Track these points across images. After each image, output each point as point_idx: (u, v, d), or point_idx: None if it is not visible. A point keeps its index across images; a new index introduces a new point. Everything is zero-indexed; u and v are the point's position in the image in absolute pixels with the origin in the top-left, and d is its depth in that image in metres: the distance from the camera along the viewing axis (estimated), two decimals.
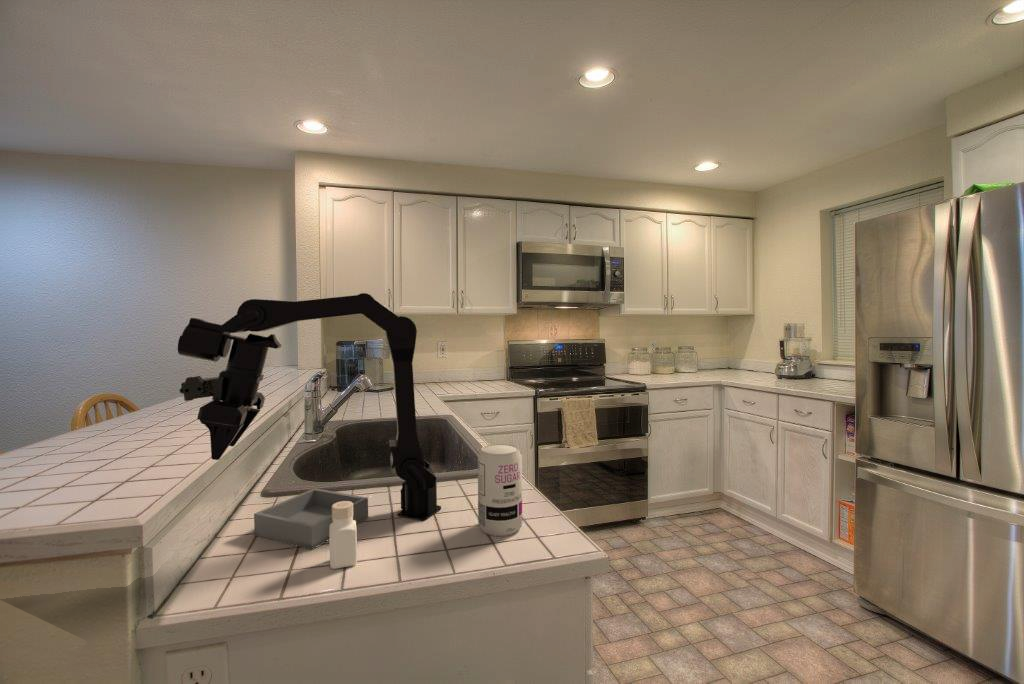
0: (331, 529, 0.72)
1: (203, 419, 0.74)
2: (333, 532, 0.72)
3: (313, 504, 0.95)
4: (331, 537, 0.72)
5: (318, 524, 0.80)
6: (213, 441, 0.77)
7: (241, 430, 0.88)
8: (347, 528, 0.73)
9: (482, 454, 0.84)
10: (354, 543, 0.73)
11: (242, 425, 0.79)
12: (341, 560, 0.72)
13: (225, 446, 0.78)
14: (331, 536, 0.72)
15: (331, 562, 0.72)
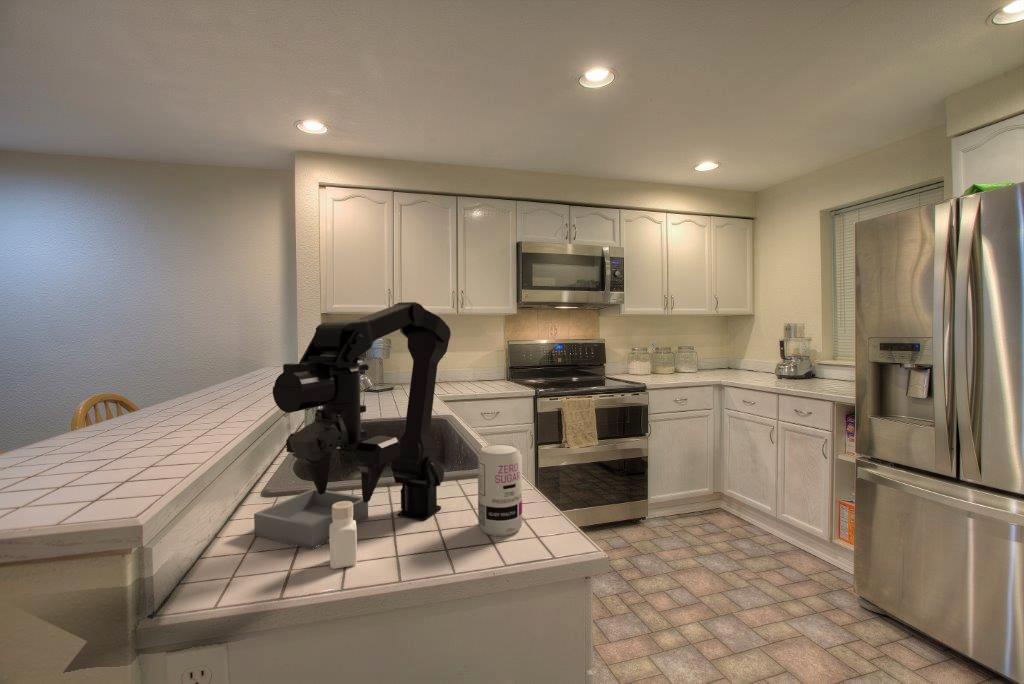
0: (331, 529, 0.72)
1: (381, 461, 0.68)
2: (333, 531, 0.72)
3: (313, 504, 0.95)
4: (331, 537, 0.72)
5: (318, 524, 0.80)
6: (369, 483, 0.71)
7: (326, 472, 0.77)
8: (348, 527, 0.73)
9: (482, 454, 0.84)
10: (354, 543, 0.73)
11: None
12: (341, 560, 0.72)
13: (376, 483, 0.73)
14: (331, 536, 0.72)
15: (331, 562, 0.72)
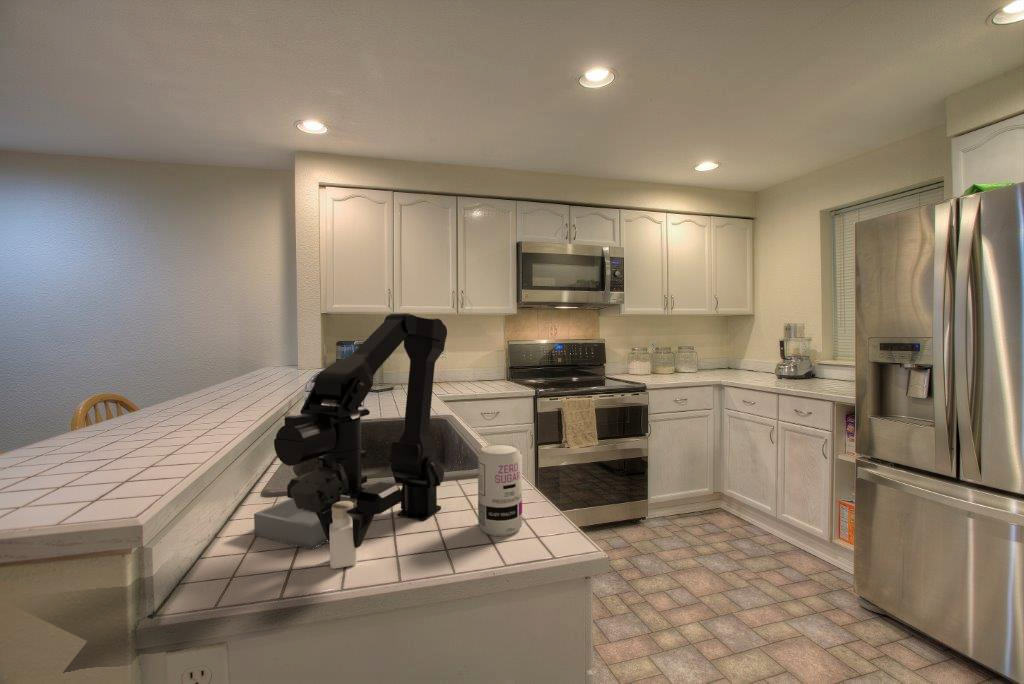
0: (331, 529, 0.72)
1: (382, 511, 0.69)
2: (333, 531, 0.72)
3: None
4: (331, 537, 0.72)
5: (318, 524, 0.80)
6: (360, 529, 0.72)
7: None
8: (348, 527, 0.73)
9: (482, 454, 0.84)
10: None
11: None
12: (341, 560, 0.72)
13: (367, 527, 0.74)
14: (331, 536, 0.72)
15: (331, 562, 0.72)
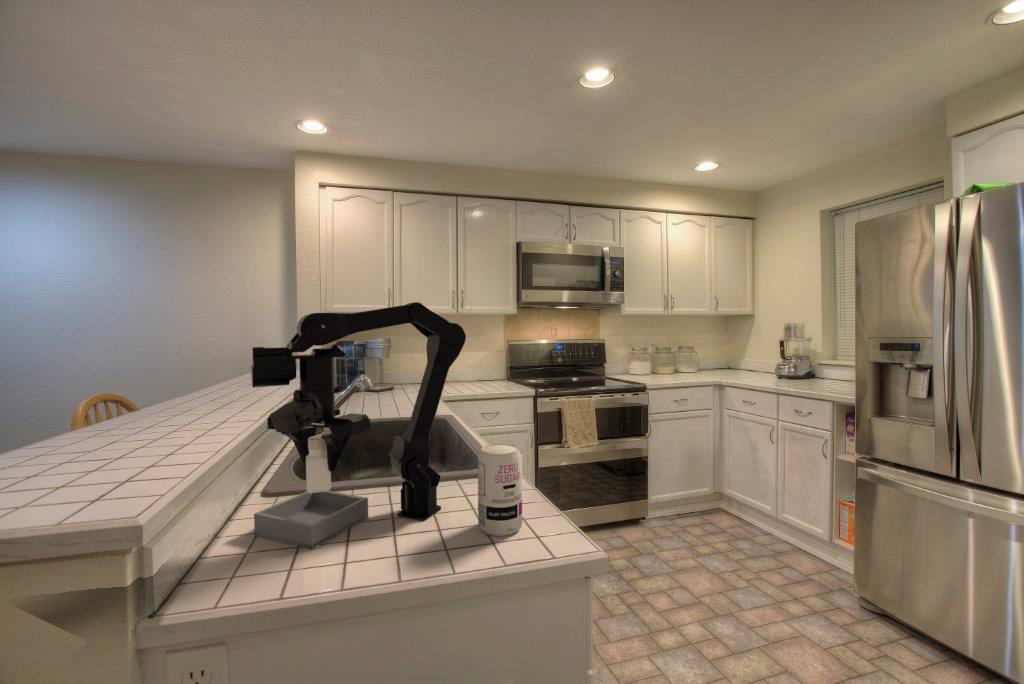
0: (307, 458, 0.81)
1: (352, 434, 0.78)
2: (309, 460, 0.81)
3: (313, 504, 0.95)
4: (307, 464, 0.81)
5: (318, 524, 0.80)
6: (333, 454, 0.81)
7: None
8: (322, 457, 0.82)
9: (482, 454, 0.84)
10: (328, 471, 0.82)
11: None
12: (316, 485, 0.81)
13: (340, 454, 0.83)
14: (307, 464, 0.81)
15: (307, 487, 0.81)
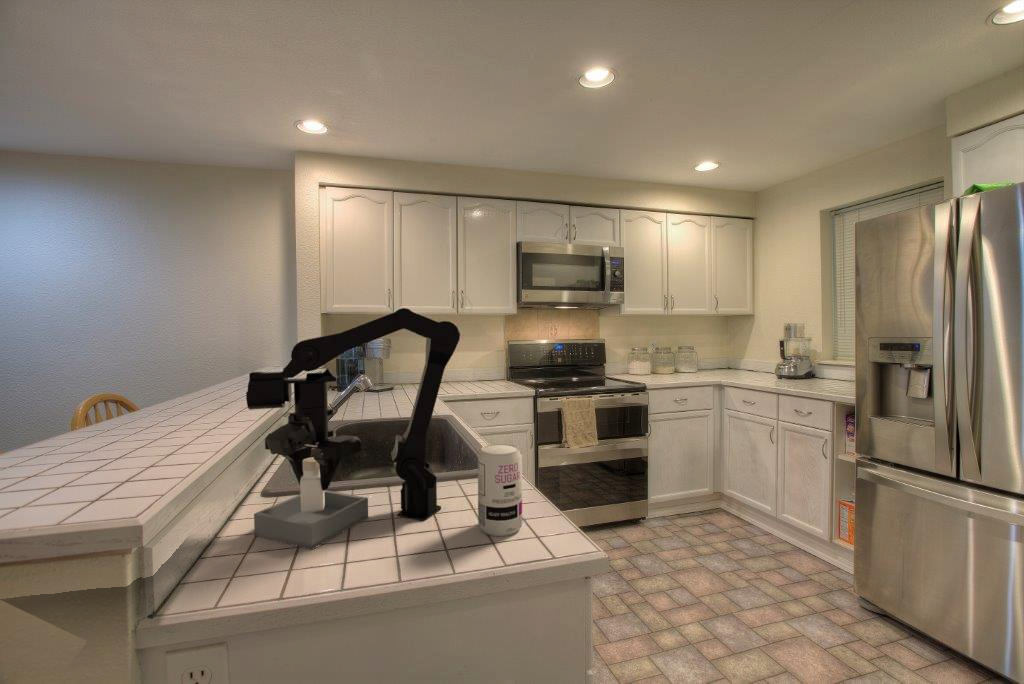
0: (301, 479, 0.85)
1: (343, 456, 0.82)
2: (303, 481, 0.85)
3: None
4: (301, 486, 0.85)
5: (318, 524, 0.80)
6: (326, 474, 0.85)
7: None
8: (316, 478, 0.86)
9: (482, 454, 0.84)
10: (321, 491, 0.86)
11: None
12: (310, 505, 0.85)
13: (333, 474, 0.87)
14: (301, 485, 0.85)
15: (301, 507, 0.85)
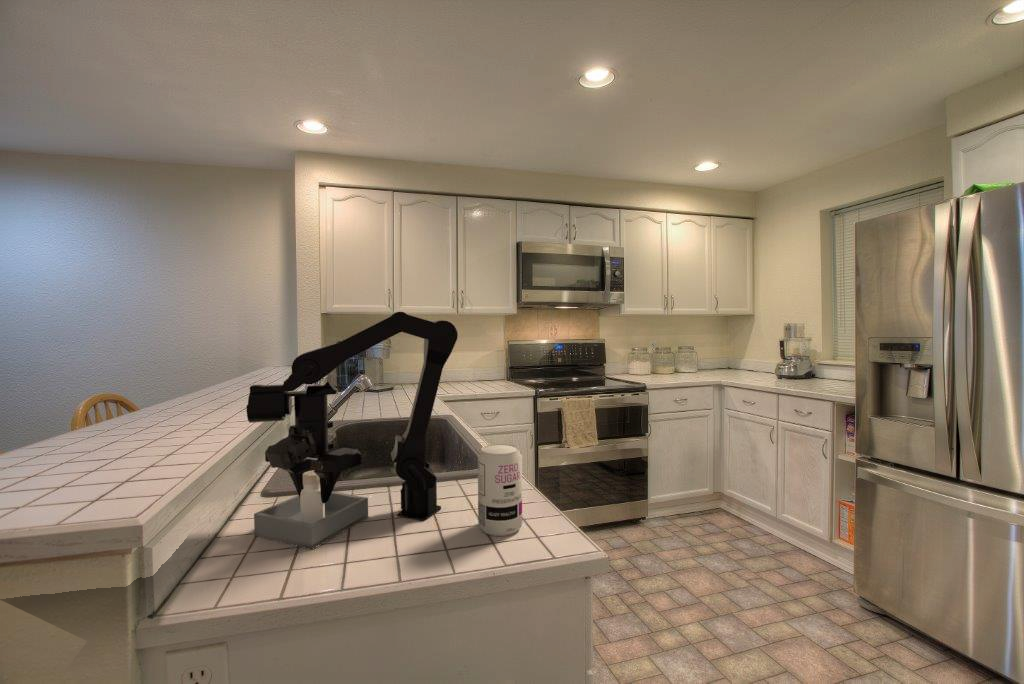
0: (302, 493, 0.86)
1: (343, 470, 0.82)
2: (303, 495, 0.85)
3: None
4: (301, 500, 0.85)
5: (318, 524, 0.80)
6: (326, 487, 0.85)
7: None
8: (316, 492, 0.86)
9: (482, 454, 0.84)
10: (321, 505, 0.86)
11: None
12: (310, 519, 0.85)
13: (333, 486, 0.87)
14: (301, 499, 0.85)
15: (302, 521, 0.85)
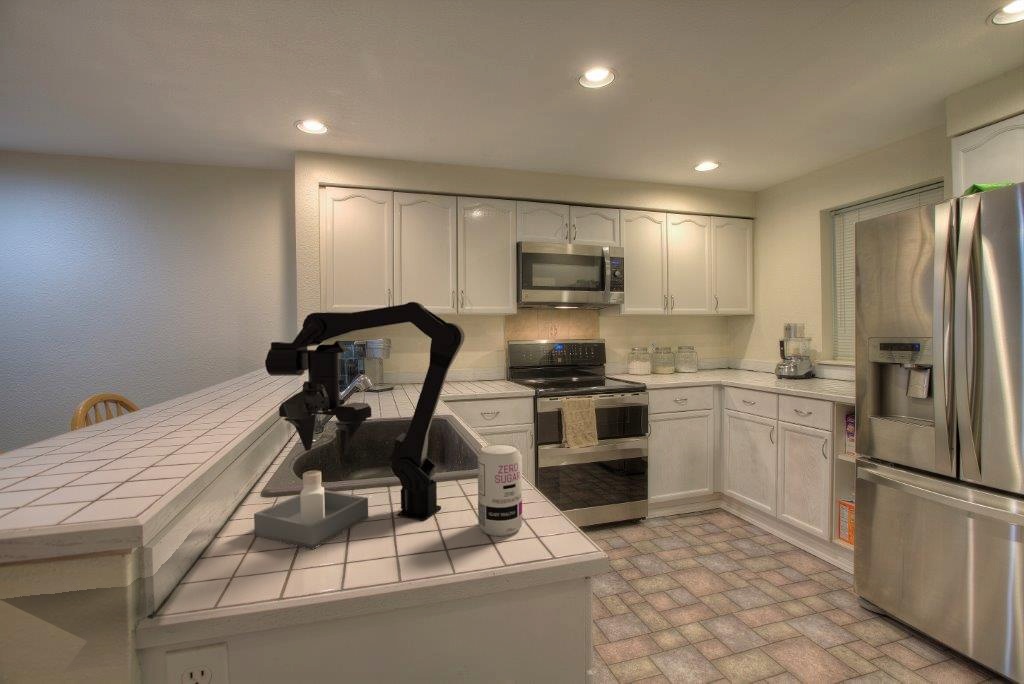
0: (302, 493, 0.86)
1: (356, 420, 0.88)
2: (303, 495, 0.85)
3: None
4: (301, 500, 0.85)
5: (318, 524, 0.80)
6: (346, 439, 0.90)
7: (311, 433, 0.96)
8: (316, 492, 0.86)
9: (482, 454, 0.84)
10: (321, 505, 0.86)
11: None
12: (310, 519, 0.85)
13: (352, 439, 0.92)
14: (301, 499, 0.85)
15: (302, 521, 0.85)
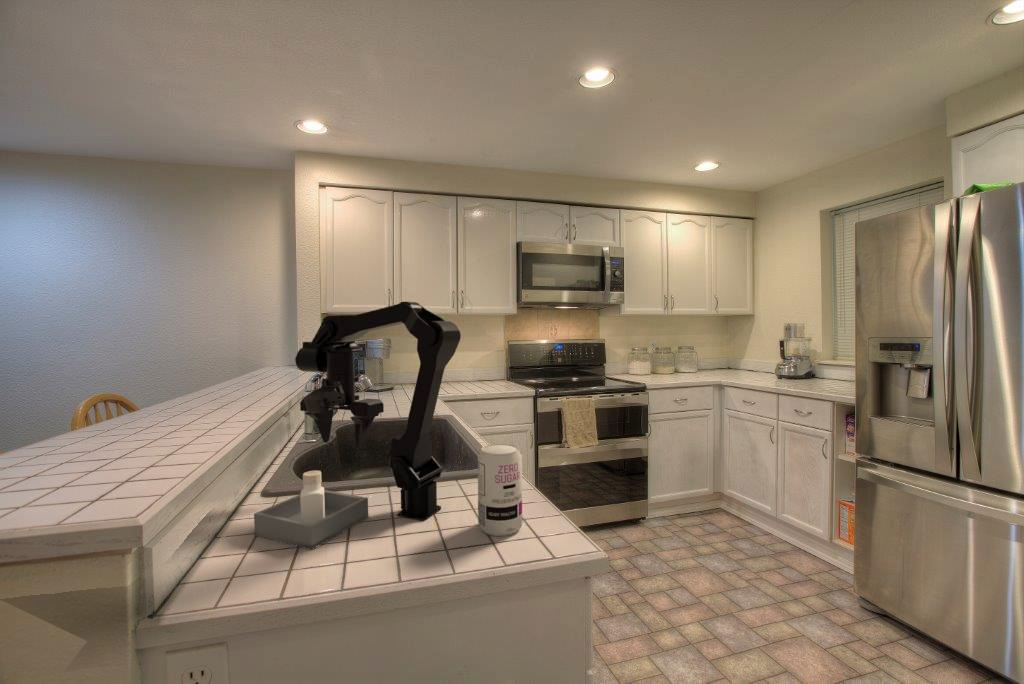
0: (302, 493, 0.86)
1: (369, 415, 0.95)
2: (303, 495, 0.85)
3: None
4: (301, 500, 0.85)
5: (318, 524, 0.80)
6: (360, 432, 0.98)
7: (329, 427, 1.04)
8: (316, 492, 0.86)
9: (482, 454, 0.84)
10: (321, 505, 0.86)
11: None
12: (310, 519, 0.85)
13: (366, 433, 1.00)
14: (301, 499, 0.85)
15: (302, 521, 0.85)
